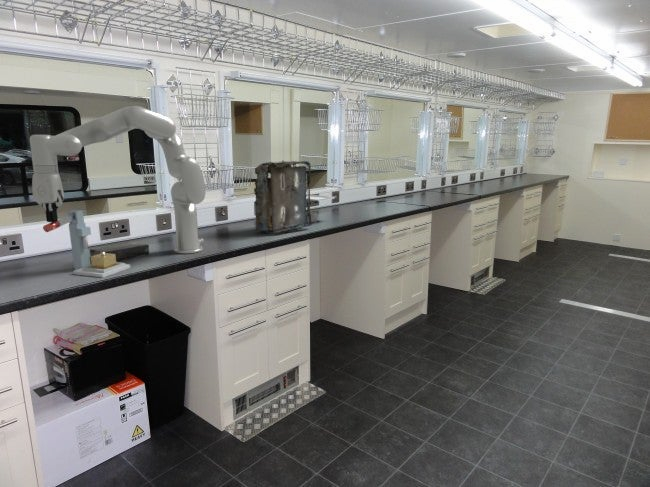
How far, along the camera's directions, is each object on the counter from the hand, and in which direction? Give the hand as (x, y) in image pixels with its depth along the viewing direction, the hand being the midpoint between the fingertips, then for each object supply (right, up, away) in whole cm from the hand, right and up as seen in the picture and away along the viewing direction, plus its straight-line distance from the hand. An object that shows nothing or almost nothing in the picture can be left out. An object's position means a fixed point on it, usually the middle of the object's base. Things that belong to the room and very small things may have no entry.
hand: (52, 221), depth 164 cm
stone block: (+10, -14, +33) cm, 37 cm away
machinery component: (+74, -2, +85) cm, 112 cm away
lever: (+2, -1, +4) cm, 5 cm away
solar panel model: (+89, +6, +117) cm, 147 cm away
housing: (+14, -17, +10) cm, 25 cm away
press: (+10, -18, +12) cm, 24 cm away
